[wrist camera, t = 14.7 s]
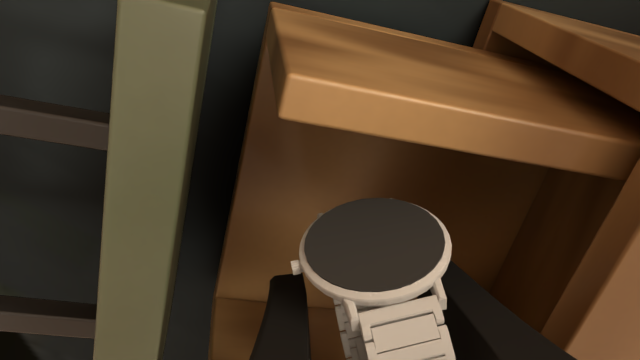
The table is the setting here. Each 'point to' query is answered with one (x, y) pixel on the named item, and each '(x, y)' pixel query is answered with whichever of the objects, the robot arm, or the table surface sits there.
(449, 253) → the wristwatch
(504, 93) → the drawer
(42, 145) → the table surface
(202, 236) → the table surface
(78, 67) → the table surface
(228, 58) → the table surface
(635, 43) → the cabinet
